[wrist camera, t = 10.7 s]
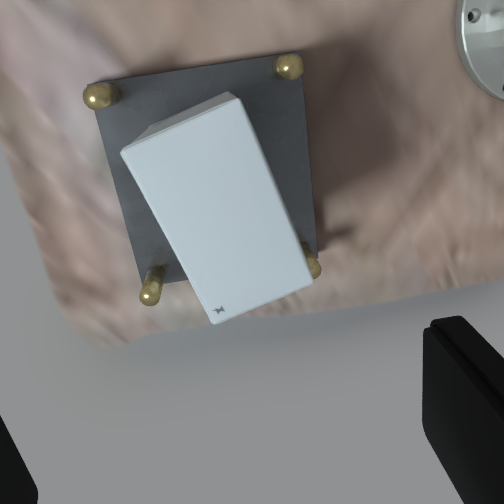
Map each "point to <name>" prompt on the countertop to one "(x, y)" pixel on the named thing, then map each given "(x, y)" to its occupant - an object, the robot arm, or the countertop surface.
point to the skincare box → (219, 207)
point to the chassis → (182, 98)
